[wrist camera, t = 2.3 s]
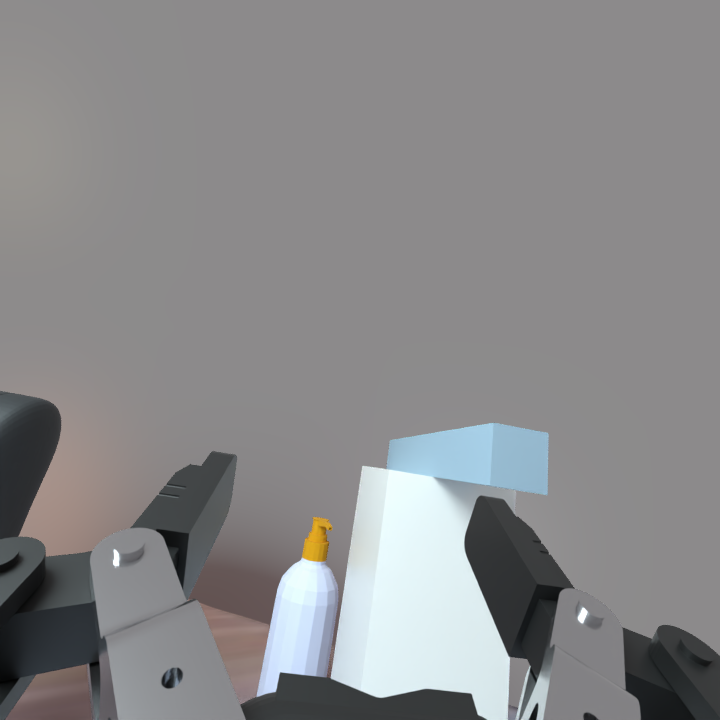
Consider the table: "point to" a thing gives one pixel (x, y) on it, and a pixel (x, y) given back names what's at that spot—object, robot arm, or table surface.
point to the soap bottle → (302, 615)
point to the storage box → (418, 594)
